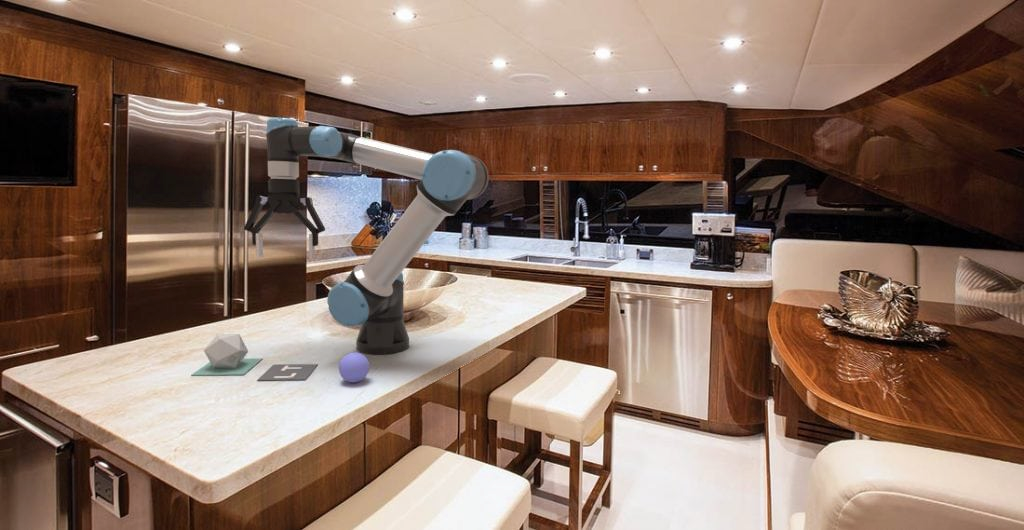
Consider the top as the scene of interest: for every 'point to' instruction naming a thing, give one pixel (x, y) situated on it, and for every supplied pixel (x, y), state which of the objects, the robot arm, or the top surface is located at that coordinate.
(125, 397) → the top surface
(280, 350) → the top surface
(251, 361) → the mat
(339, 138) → the robot arm
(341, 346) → the top surface
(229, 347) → the die
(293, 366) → the tile
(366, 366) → the sphere
